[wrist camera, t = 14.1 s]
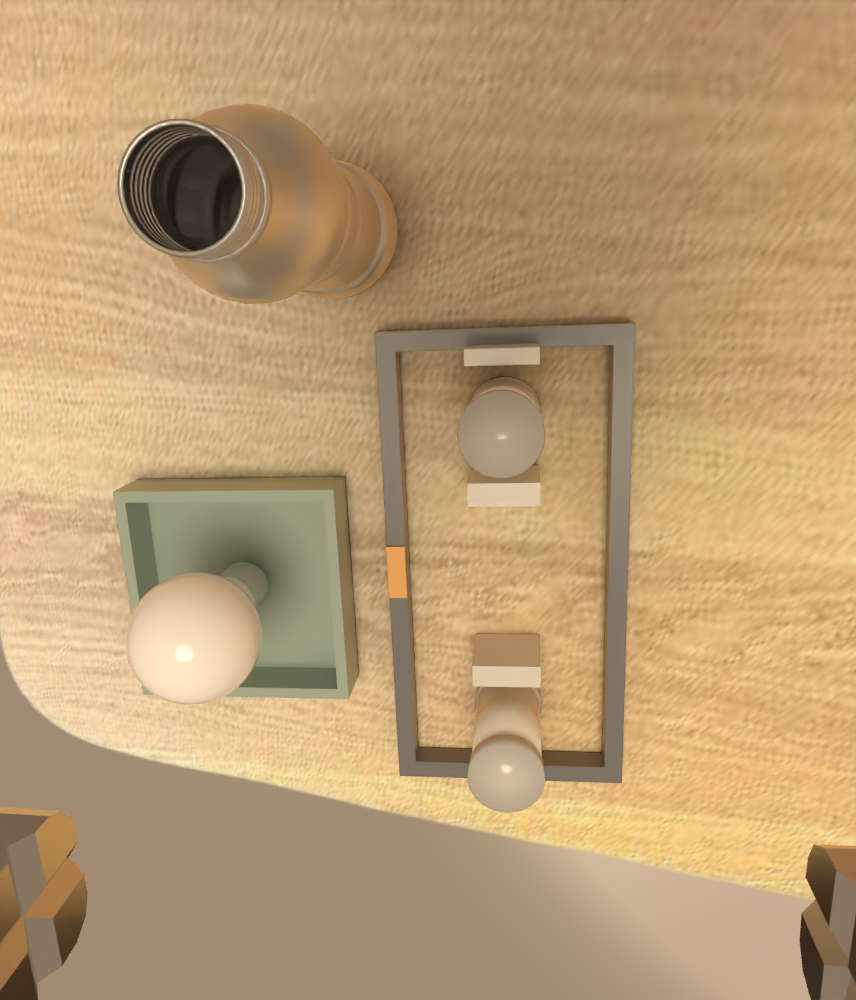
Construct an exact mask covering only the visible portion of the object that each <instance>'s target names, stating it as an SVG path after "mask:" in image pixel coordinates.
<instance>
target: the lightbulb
mask: <svg viewBox="0 0 856 1000" xmlns="http://www.w3.org/2000/svg"><path fill="white" fill-rule="evenodd" d="M267 588H268V583H267V579H266V576H265V574H264V573H263V571H262V570H261V569H260V568H259V567H257V566H256V565H254V564H252V563H249V562H237V563H234V564H232V565H230V566H229V567H228V568H227V569H226V570H225V571H224V572H223V573H222V574H221V575H220V576H218V575H215V574H210V573H202V572H192V573H184V574H180V575H176V576H173V577H171V578H168V579H166V580H164V581H162V582H161V583H159V584H157V585H156V586H154V587H153V588H152V589H151V590H149V591H148V592H147V593H146V594H145V595H144V596H143V598H142V599H141V600H140V601H139V603H138V604H137V606H136V607H135V609H134V611H133V613H132V615H131V617H130V620H129V623H128V626H127V631H126V653H127V658H128V661H129V664H130V667H131V669H132V671H133V673H134V675H135V676H136V678H137V679H138V680H139V682H140V683H141V684H142V685H143V686H144V687H145V688H146V689H147V690H148V691H150V692H151V693H152V694H154V695H155V696H157V697H159V698H161V699H163V700H165V701H168V702H171V703H175V704H180V705H200V704H206V703H210V702H213V701H216V700H218V699H220V698H222V697H224V696H226V695H228V694H229V693H231V692H232V691H234V690H235V689H236V688H238V687H239V686H240V685H241V684H242V683H243V682H244V681H245V679H246V678H247V677H248V676H249V674H250V673H251V671H252V670H253V668H254V666H255V664H256V662H257V659H258V657H259V653H260V649H261V644H262V627H261V621H260V617H259V614H258V612H257V609H256V607H257V605H258V604H259V603H260V602H261V600H262V599H263V598H264V597H265V595H266V592H267Z"/></svg>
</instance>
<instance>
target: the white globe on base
mask: <svg viewBox="0 0 856 1000" xmlns="http://www.w3.org/2000/svg"><path fill="white" fill-rule="evenodd" d="M457 437H458V445H459V448H460V451H461V453H462V455H463V457H464V459H465V460H466V461H467V463H468V464H469V465H470V466H471V467H472V468H473V469H475V470H476V471H478V472H479V473H481V474H483V475H486V476H489V477H494V478H508V477H513V476H516V475H518V474H520V473H522V472H524V471H526V470H527V469H528V468H530V467H531V466H532V465H533V464H534V463H535V461H536V460H537V459H538V457H539V455H540V453H541V451H542V449H543V445H544V440H545V429H544V424H543V420H542V417H541V413H540V405H539V402H538V399H537V396H536V395H535V393H534V391H533V390H532V389H531V388H530V387H529V386H528V385H527V384H526V383H524V382H523V381H521V380H519V379H516V378H512V377H497V378H494V379H491V380H489V381H487V382H485V383H484V384H482V385H481V386H480V387H479V388H478V389H477V390H476V392H475V393H474V395H473V397H472V399H471V401H470V403H469V405H468V407H467V408H466V410H465V411H464V413H463V415H462V417H461V419H460V422H459V426H458V433H457Z"/></svg>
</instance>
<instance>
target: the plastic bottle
mask: <svg viewBox="0 0 856 1000" xmlns="http://www.w3.org/2000/svg"><path fill="white" fill-rule="evenodd" d="M117 185H118V195H119V200H120V204H121V207H122V210H123V213H124V215H125V217H126V219H127V221H128V223H129V224H130V225H131V227H132V228H133V230H134V231H135V232H136V234H138V235H139V236H140V237H141V238H142V239H143V240H144V241H145V242H146V243H148V244H149V245H151V246H152V247H154V248H155V249H157V250H159V251H161V252H163V253H166V254H168V255H169V256H170V258H171V259H172V261H173V262H174V263H175V265H176V266H177V267H178V268H180V269H181V270H182V271H183V272H184V273H185V274H186V275H187V276H188V277H189V278H190V279H191V280H192V281H193V282H194V283H195V284H197V285H198V286H200V287H201V288H203V289H204V290H206V291H208V292H209V293H211V294H213V295H216V296H218V297H221V298H223V299H225V300H229V301H234V302H239V303H244V304H263V303H268V302H273V301H278V300H282V299H285V298H288V297H290V296H293V295H295V294H297V293H300V292H301V293H304V294H306V295H309V296H311V297H315V298H320V299H342V298H347V297H351V296H353V295H356V294H358V293H360V292H363V291H364V290H366V289H367V288H368V287H370V286H371V285H373V284H374V283H375V282H376V281H377V280H378V279H379V278H380V277H381V276H382V275H383V273H384V272H385V270H386V269H387V267H388V266H389V264H390V262H391V259H392V257H393V254H394V252H395V248H396V243H397V237H398V229H397V218H396V213H395V209H394V207H393V204H392V202H391V199H390V197H389V195H388V194H387V192H386V191H385V189H384V188H383V186H382V185H381V184H380V183H379V182H378V181H377V180H376V178H375V177H374V176H373V175H371V174H370V173H368V172H367V171H365V170H364V169H363V168H361V167H359V166H357V165H354V164H352V163H349V162H346V161H341V160H336V159H334V158H333V157H332V155H331V154H330V152H329V151H328V149H327V148H326V146H325V145H324V144H323V143H322V142H321V141H320V140H319V139H318V137H317V136H316V135H315V134H314V133H313V132H312V131H311V130H310V129H309V128H308V127H307V126H305V125H304V124H302V123H301V122H299V121H298V120H296V119H295V118H293V117H292V116H290V115H288V114H286V113H283V112H281V111H278V110H276V109H274V108H270V107H265V106H260V105H254V104H245V105H231V106H227V107H223V108H219V109H215V110H211V111H208V112H206V113H204V114H202V115H200V116H198V117H195V118H193V119H192V120H189V119H169V120H165V121H161V122H157V123H155V124H153V125H151V126H149V127H147V128H146V129H144V130H143V131H142V132H141V133H139V134H138V135H137V136H136V137H135V138H134V139H133V141H132V142H131V143H130V144H129V146H128V147H127V149H126V151H125V153H124V155H123V157H122V160H121V164H120V167H119V171H118V182H117Z"/></svg>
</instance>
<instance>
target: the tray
mask: <svg viewBox="0 0 856 1000" xmlns="http://www.w3.org/2000/svg"><path fill="white" fill-rule="evenodd" d="M113 496H114V502H115V509H116V516H117V522H118V529H119V536H120V542H121V549H122V556H123V562H124V569H125V576H126V582H127V589H128V596H129V602H130V609H131V615H132V613H133V611H134V609H135V607H136V606H137V604H138V603H139V601H140V600H141V599H142V598H143V596H144V595H145V594H146V593H147V592H148V591H149V590H151V589H152V588H153V587H154V586H156V585H157V584H159V583H161V582H162V581H164V580H166V579H168V578H171V577H173V576H176V575H180V574H184V573H192V572H202V573H210V574H215V575H218V576H220V575H221V574H222V573H223V572H224V571H225V570H226V569H227V568H228V567H229V566H230V565H232V564H234V563H237V562H249V563H252V564H254V565H256V566H257V567H259V568H260V569H261V570H262V571H263V573H264V574H265V576H266V579H267V583H268V588H267V592H266V595H265V597H264V598H263V599H262V600H261V602H260V603H259V604H258V605H257V607H256V609H257V612H258V614H259V617H260V621H261V627H262V644H261V649H260V653H259V657H258V659H257V662H256V664H255V666H254V668H253V670H252V671H251V673H250V674H249V676H248V677H247V678H246V679H245V681H244V682H243V683H242V684H241V685H240V686H239V687H238V688H236V689H235V690H234V691H232V692H231V693H229V694H228V695H226V696H233V697H278V698H323V699H349V697H350V695H351V692H352V690H353V687H354V685H355V682H356V680H357V678H358V675H359V665H358V650H357V636H356V621H355V607H354V592H353V578H352V563H351V549H350V534H349V520H348V506H347V491H346V477H345V476H329V477H248V478H168V479H138V480H136V481H134V482H132V483H130V484H128V485H126V486H124V487H122V488H120V489H118V490H116V491H114V492H113ZM142 689H143V695H154V694H152V693H151V692H150V691H148V690H147V689H146V688H145V687H144V686H143V685H142Z"/></svg>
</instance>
